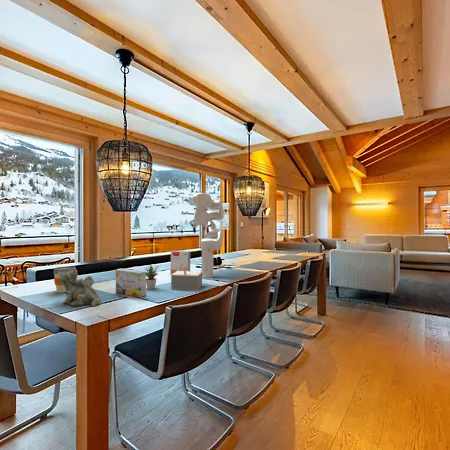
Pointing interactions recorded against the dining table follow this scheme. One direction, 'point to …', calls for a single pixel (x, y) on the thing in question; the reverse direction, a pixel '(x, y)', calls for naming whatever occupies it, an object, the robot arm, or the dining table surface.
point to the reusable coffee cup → (58, 284)
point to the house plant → (151, 277)
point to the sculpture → (78, 289)
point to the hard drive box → (179, 260)
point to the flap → (186, 272)
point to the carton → (186, 282)
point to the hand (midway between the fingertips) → (201, 232)
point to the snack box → (131, 282)
